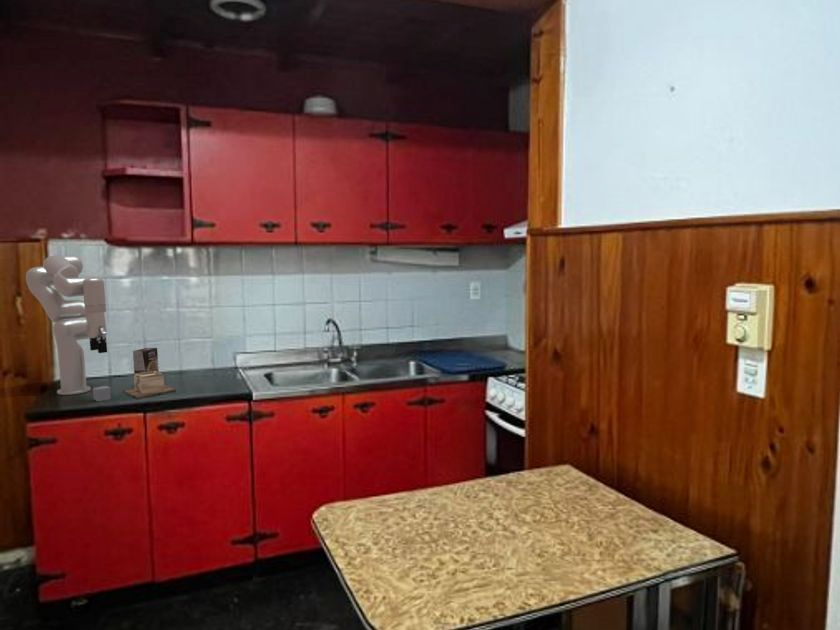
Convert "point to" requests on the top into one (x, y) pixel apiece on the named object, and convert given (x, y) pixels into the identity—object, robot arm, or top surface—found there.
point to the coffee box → (145, 360)
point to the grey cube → (101, 393)
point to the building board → (139, 395)
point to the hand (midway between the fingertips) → (98, 351)
